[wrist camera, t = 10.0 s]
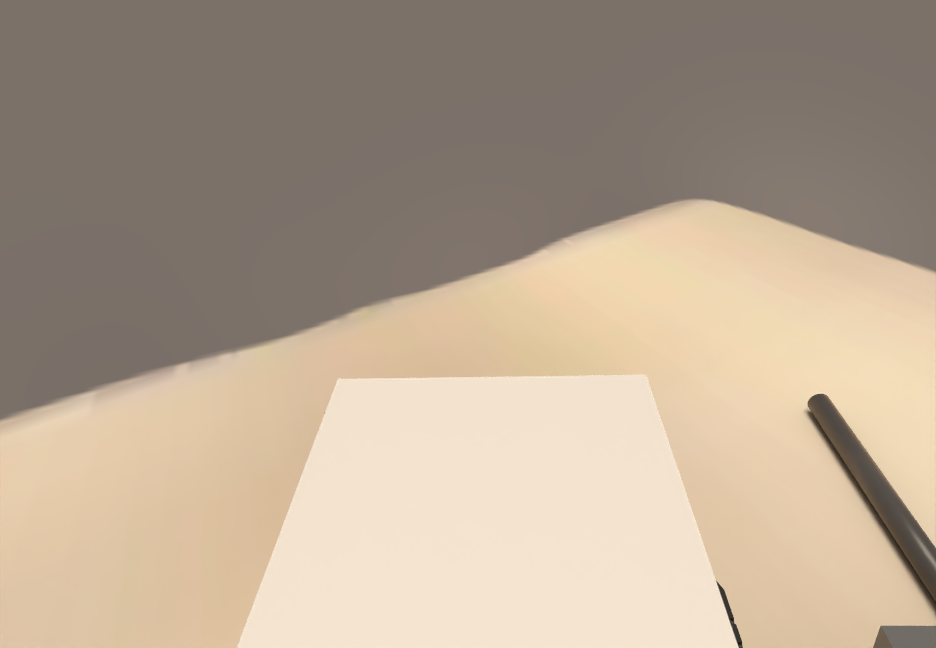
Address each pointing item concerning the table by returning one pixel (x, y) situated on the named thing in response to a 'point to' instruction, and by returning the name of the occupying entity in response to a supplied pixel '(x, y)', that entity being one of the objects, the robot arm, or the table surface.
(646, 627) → the charger
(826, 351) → the table surface
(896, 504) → the strip
